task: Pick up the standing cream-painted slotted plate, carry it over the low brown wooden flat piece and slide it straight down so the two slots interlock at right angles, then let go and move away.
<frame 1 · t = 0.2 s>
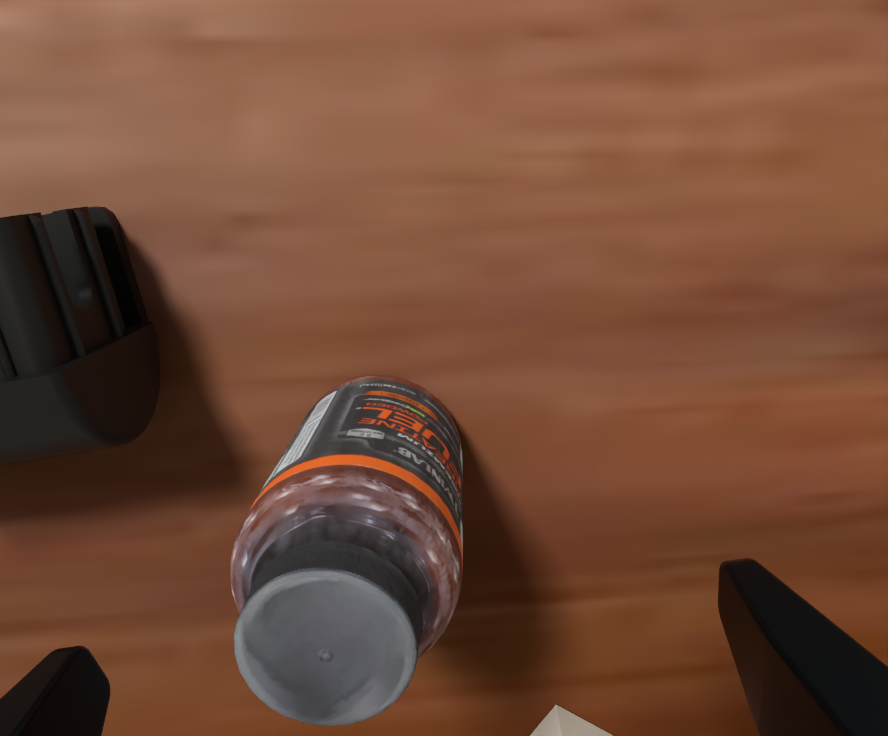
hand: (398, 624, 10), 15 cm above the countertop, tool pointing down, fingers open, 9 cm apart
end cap: (26, 326, 25), on the countertop
supplement bottle: (382, 444, 26), on the countertop
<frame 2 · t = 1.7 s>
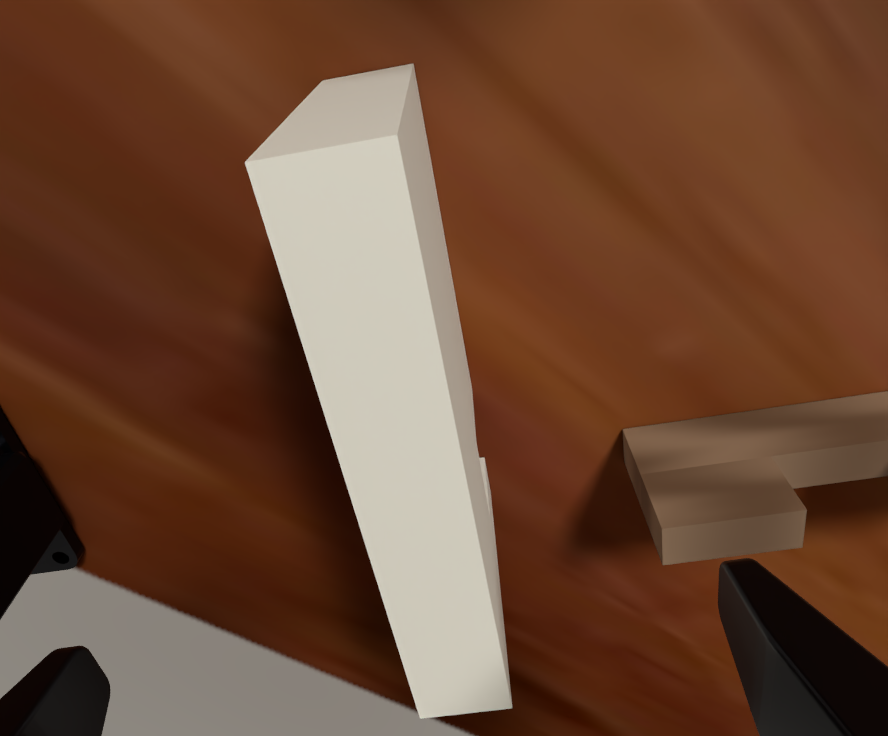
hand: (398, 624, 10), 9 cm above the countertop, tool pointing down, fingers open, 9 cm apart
cream plate: (420, 319, 18), on the countertop
brown wooden flat piece: (801, 420, 20), on the countertop
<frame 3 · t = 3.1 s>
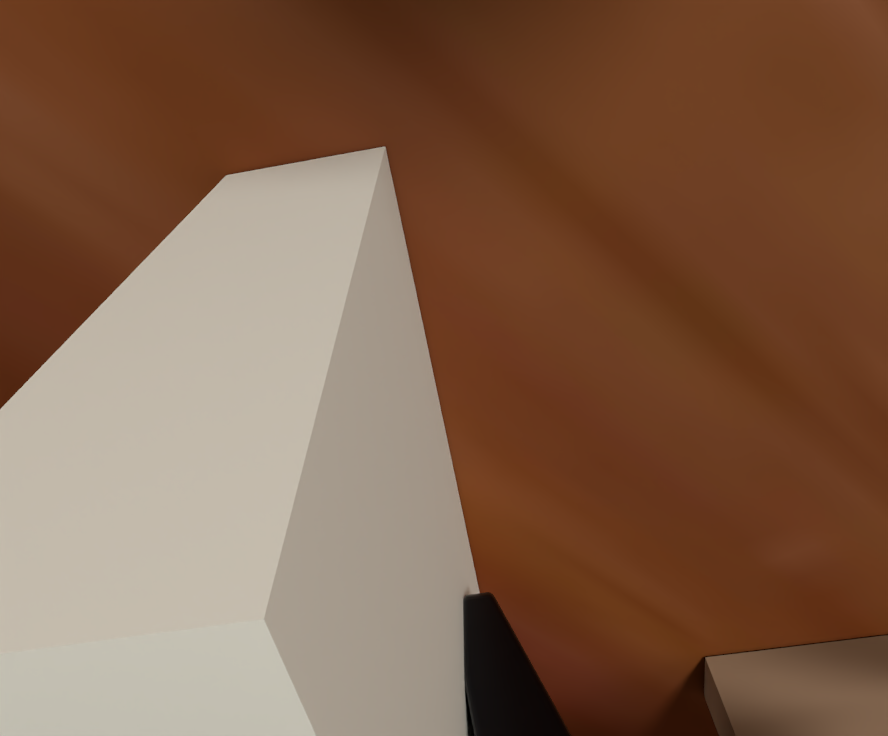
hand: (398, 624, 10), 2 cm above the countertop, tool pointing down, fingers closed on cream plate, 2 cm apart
cream plate: (403, 523, 11), on the countertop, touching gripper
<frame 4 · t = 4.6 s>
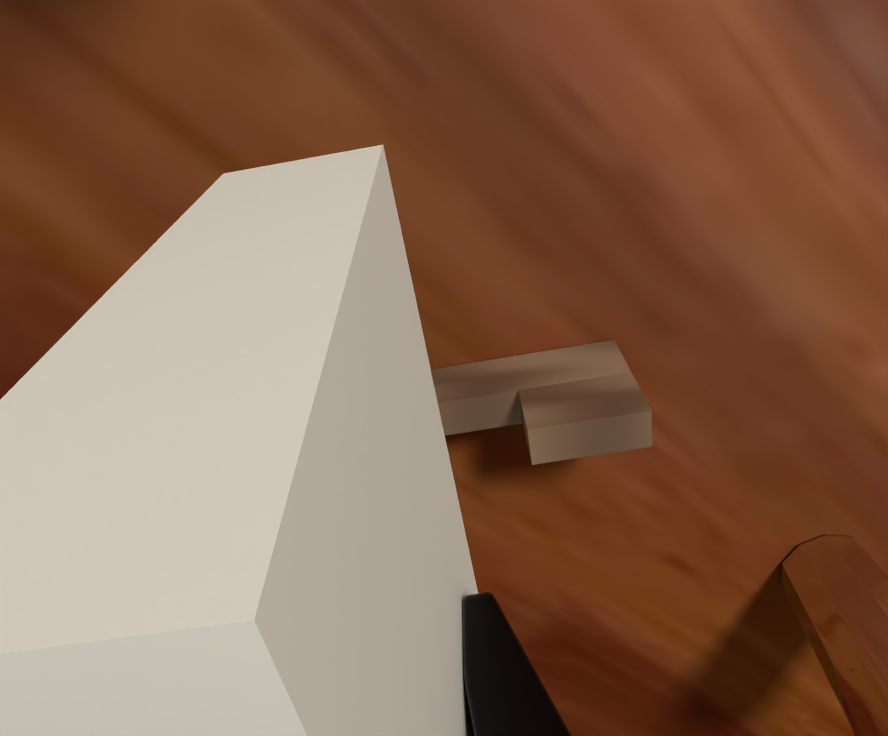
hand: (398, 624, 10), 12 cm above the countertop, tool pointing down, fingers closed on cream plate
milkshake: (828, 561, 27), on the countertop
cream plate: (401, 523, 11), point 10 cm above the countertop, touching gripper
brown wooden flat piece: (459, 381, 22), on the countertop
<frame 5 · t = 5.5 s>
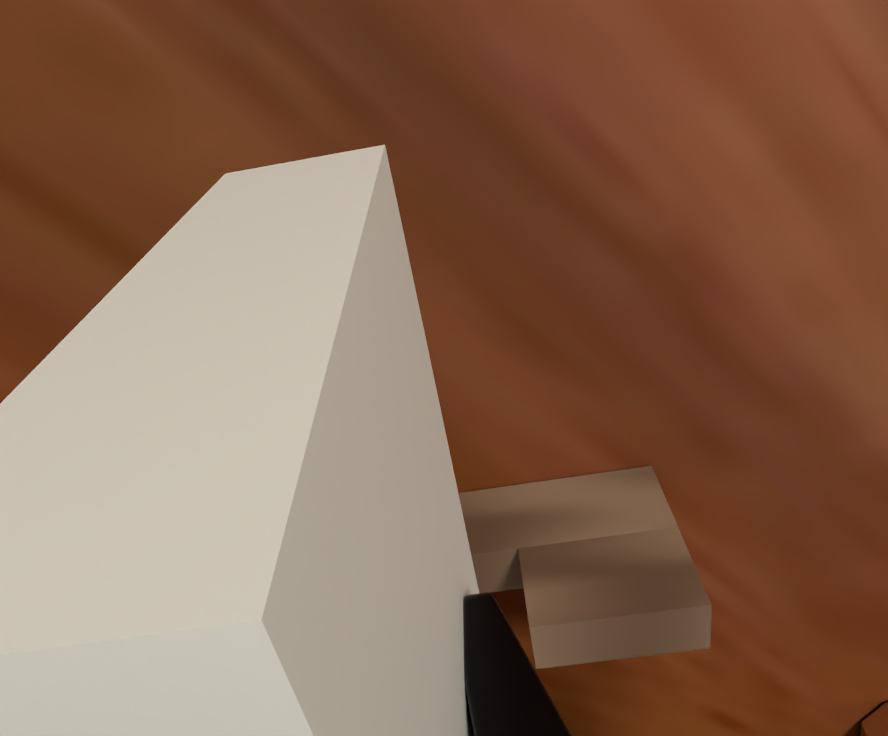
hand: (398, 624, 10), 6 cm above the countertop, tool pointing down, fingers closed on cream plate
cream plate: (402, 523, 11), point 4 cm above the countertop, touching gripper
brown wooden flat piece: (441, 515, 17), on the countertop
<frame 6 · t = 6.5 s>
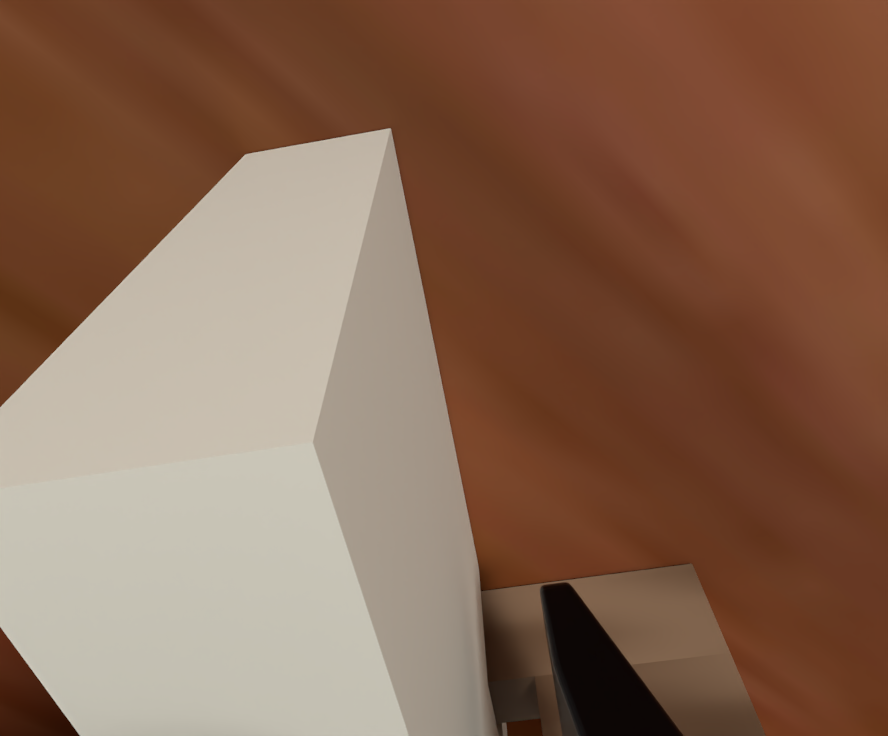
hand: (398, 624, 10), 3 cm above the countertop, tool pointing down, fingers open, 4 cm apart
cream plate: (404, 484, 12), on the countertop
brown wooden flat piece: (441, 617, 14), on the countertop
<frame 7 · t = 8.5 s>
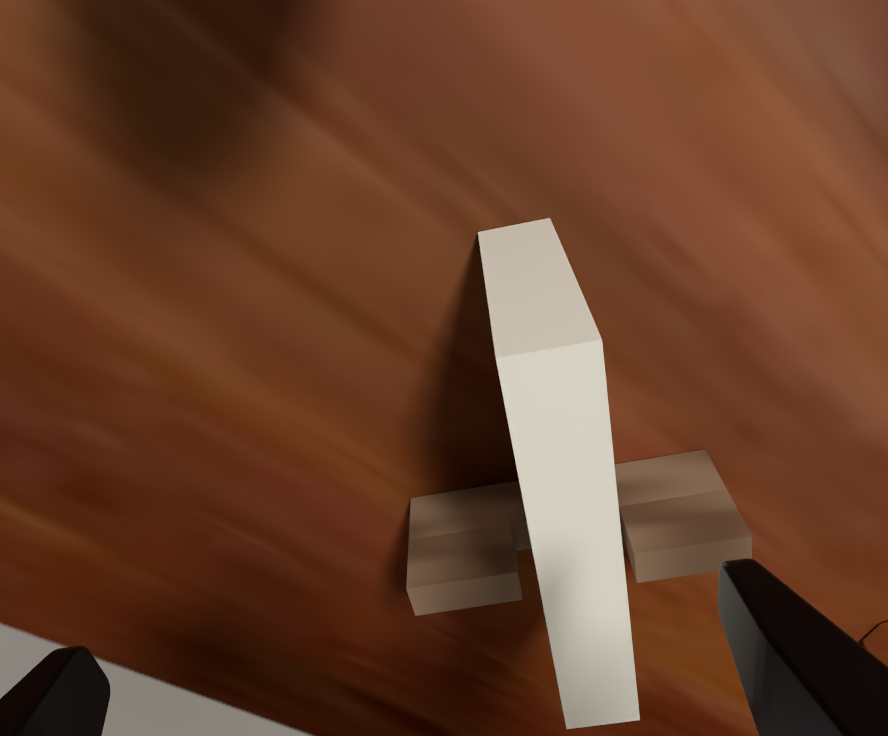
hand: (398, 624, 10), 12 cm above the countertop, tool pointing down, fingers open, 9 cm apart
cream plate: (541, 403, 22), on the countertop
brown wooden flat piece: (557, 487, 24), on the countertop
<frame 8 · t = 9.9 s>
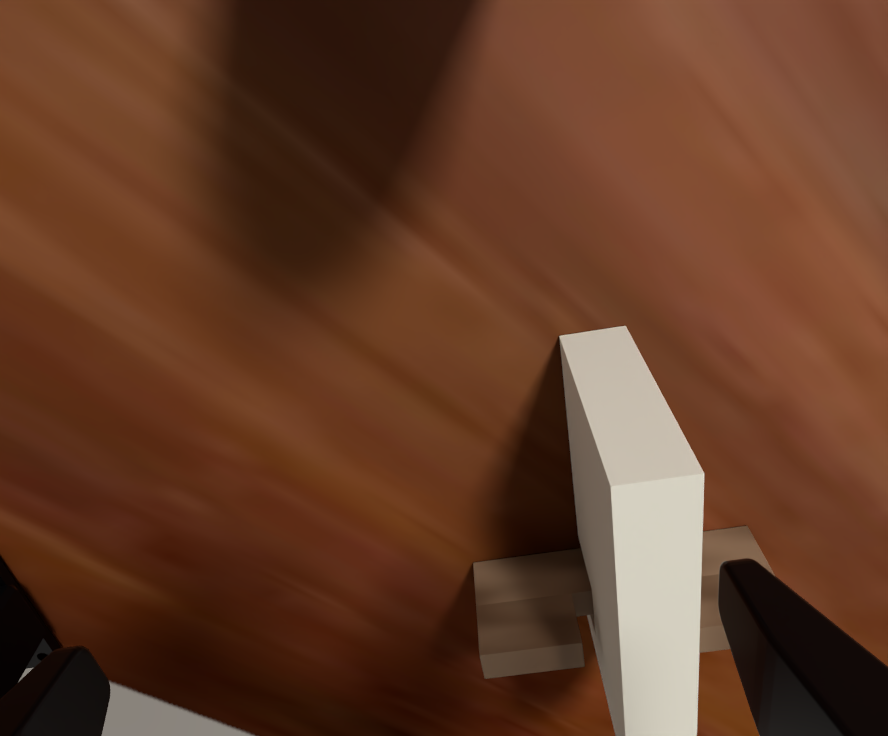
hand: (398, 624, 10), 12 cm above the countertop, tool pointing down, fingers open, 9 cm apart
cream plate: (602, 483, 24), on the countertop
brown wooden flat piece: (609, 556, 26), on the countertop
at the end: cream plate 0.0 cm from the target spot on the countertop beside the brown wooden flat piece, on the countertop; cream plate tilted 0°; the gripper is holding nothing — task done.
